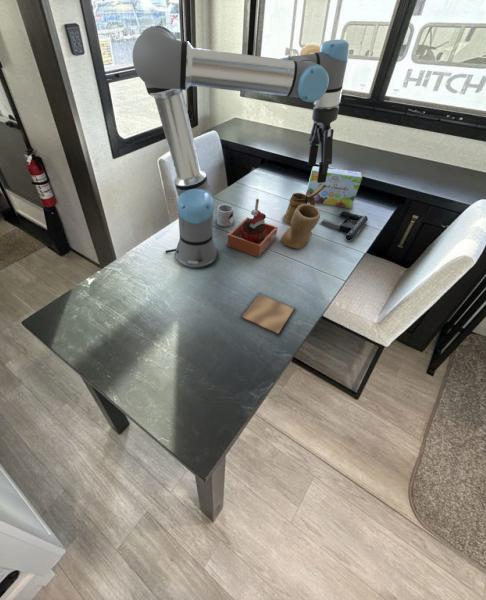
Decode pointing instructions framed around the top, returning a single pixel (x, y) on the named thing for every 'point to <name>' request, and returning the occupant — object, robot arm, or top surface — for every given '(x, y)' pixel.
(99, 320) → the top surface
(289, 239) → the tan boot
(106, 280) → the top surface
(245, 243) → the orange square tray
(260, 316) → the cork mat
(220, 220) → the mug
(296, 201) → the brown watering can
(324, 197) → the snack box
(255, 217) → the cake
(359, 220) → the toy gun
